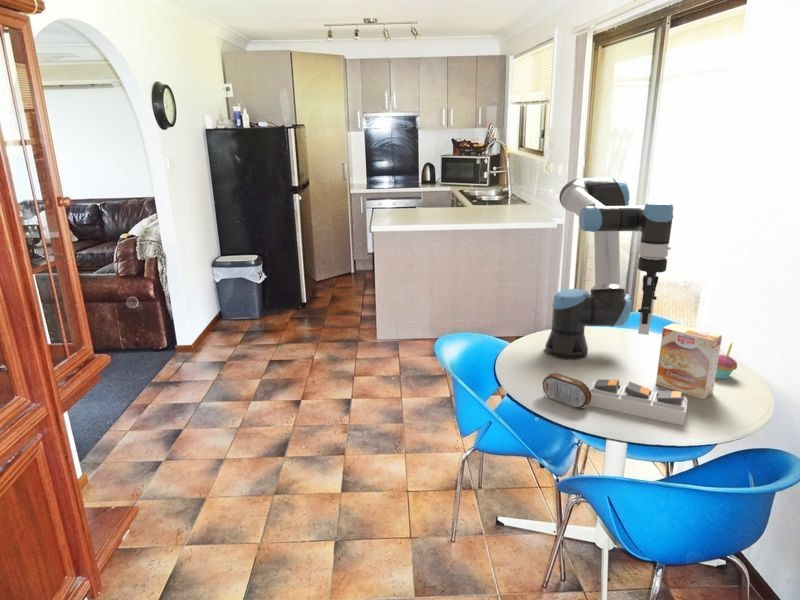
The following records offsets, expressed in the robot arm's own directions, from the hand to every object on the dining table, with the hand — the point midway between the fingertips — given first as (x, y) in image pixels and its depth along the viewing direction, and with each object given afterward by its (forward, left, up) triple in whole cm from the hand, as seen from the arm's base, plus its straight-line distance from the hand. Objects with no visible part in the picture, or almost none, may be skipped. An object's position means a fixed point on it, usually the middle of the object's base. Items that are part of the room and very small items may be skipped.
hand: (645, 327), depth 164 cm
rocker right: (+9, -9, -17) cm, 21 cm away
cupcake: (+22, +28, -23) cm, 42 cm away
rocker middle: (+1, -9, -17) cm, 19 cm away
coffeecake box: (+12, +12, -23) cm, 28 cm away
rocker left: (-8, -9, -17) cm, 21 cm away
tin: (-18, -16, -23) cm, 33 cm away
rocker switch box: (0, -9, -22) cm, 24 cm away
